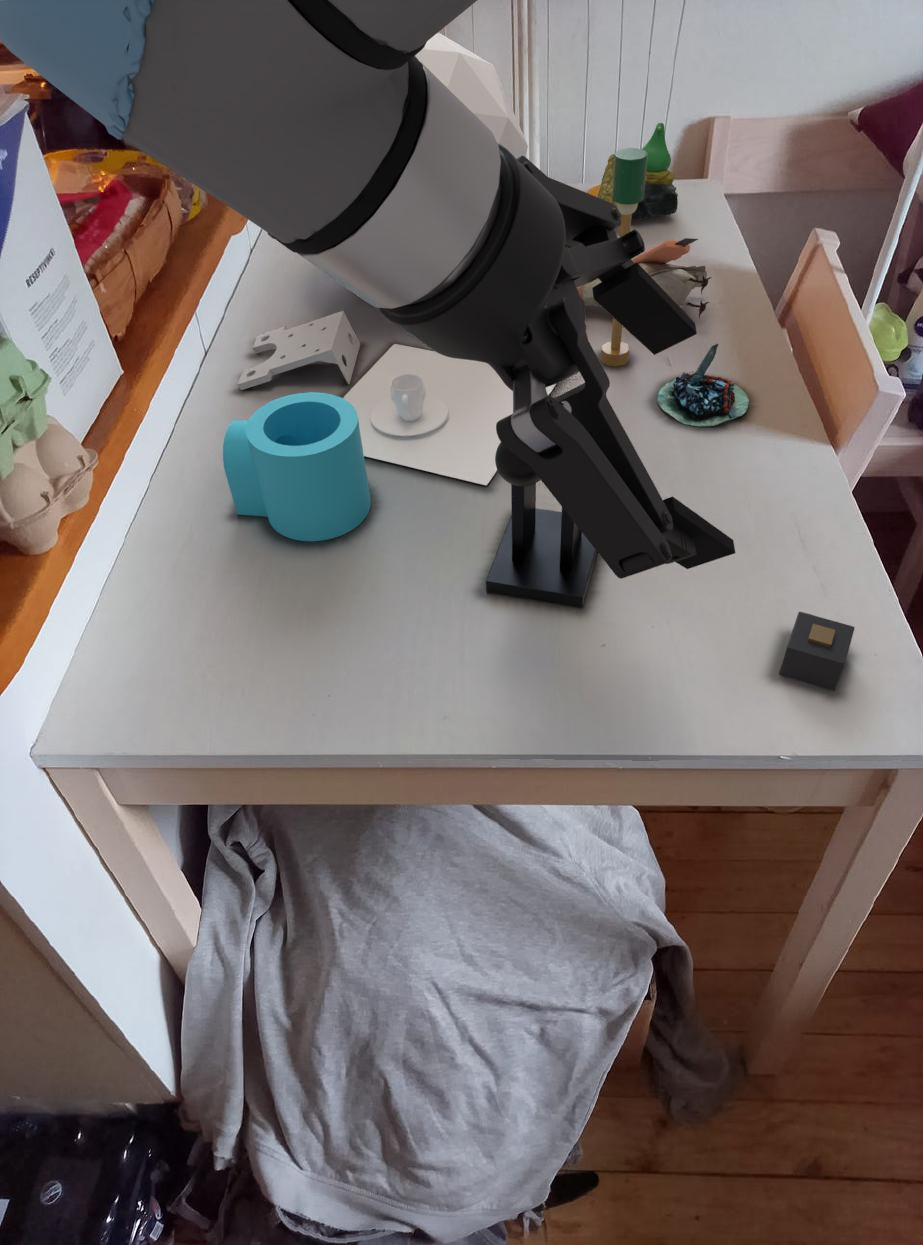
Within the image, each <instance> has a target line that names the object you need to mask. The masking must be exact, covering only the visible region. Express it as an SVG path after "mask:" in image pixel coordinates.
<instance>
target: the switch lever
mask: <svg viewBox="0 0 923 1245" xmlns="http://www.w3.org/2000/svg"><path fill="white" fill-rule="evenodd" d="M495 463H496V467H497V472H498V474H499V476H500V477H501V478H502V479H503V480H504V481H505V482H506V483H508V484H510V485H511V484H512V485H515V486H521V487H525V486H530V485H533V484H535V483H536V484H537V483H538V482H540V481H541V479H540V478H539V477H538V476H537V474H536V473H535V472H534V470H533V469H532V468H531V467H530V466H529V465H528V464H527V463H526V462H524V461H523V460H522V459H520V458H519V457H518V456H517V455H515V454H514V453H513V452H511V451H510V450H509V449H508V448H506V447H505V446H504V445H503V444H502V443H501V442H500V444H499V446H498V448H497V451H496V455H495Z"/></svg>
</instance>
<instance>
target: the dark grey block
mask: <svg viewBox="0 0 923 1245" xmlns="http://www.w3.org/2000/svg"><path fill="white" fill-rule="evenodd" d="M854 631H855V626H853V625H849V624H846V623H842V622H839V621H835V620H832V619H828V618H825V617H820V616H817V615H814V614H810V613H806V612H802V611H799V612H798V613H797V616H796V619H795V621H794V625H793V628H792V631H791V633H790V637H789V640H788V643H787V645H786V646H787V647H786V649H785V652H784V655H783V659H782V662H781V665H780V668H779V671H778V674H779V675H780V676H782V677H786V678H789V679H793V680H797V681H800V682H802V683H806V684H809V685H812V686H816V687H819V688H823V689H826V690H829V691H833V692H834V691H836V689H837V686H838V683H839V681H840V678H841V675H842V673H843V671H844V668H845V666H846V661H847V658H848V654H849V651H850V647H851V642H852V639H853V635H854Z"/></svg>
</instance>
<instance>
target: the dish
mask: <svg viewBox="0 0 923 1245" xmlns="http://www.w3.org/2000/svg"><path fill="white" fill-rule="evenodd" d="M718 347H719V343H715V344H713V345H711V346H710V348H709V349H708V351H707V353H706V354H705V356H704V358H703V360H702V361H701V362H700V364H699V365H698V367H697V369H696V370H695V372H692V373H691V371H689V372H685V371H684V372H682V374H681V377H679V376H676V377H675V378H674V379H672V380H670V381H669V382H667V383H666V384H664V386H662V387H661V388H660V389H659V391H658V394H657V403H658V406H659V407H660V408H661V409H662V410H663V411H664V412H665V413H667V414H668V415H669V416H671V417H672V418H674V419H675V420H676V421H678V422H679V423H681V424H684V425H687V426H693V427H694V426H695V427H712V426H713V427H714V426H718V425H721V424H724V423H726V422H728V421H732V420H734V419H737V418H738V417H742V416H743V415H744V414H746V412H747V410H748V408H749V404H750V399H749V398H748V396H747V394H746V392H745V391H744V390H743V389H741V388H740V387H739V385H737V384H735V381H731V380H728V379H726V378H723V377H722V376H715V375H709V374H706V372H707V370H708V369H709V367H710V366H711V364H712V362H713V361H714V359H715V356H716V354H717V349H718ZM690 373H691V374H690Z"/></svg>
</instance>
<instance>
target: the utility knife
mask: <svg viewBox="0 0 923 1245" xmlns="http://www.w3.org/2000/svg"><path fill="white" fill-rule="evenodd" d="M698 240H699V238H689V237H685V238H683V239H681V240H675V239H667V240H665V241H663V242H661V243H659V244H657V245H655V246H653V247H652V248H650V249H648V250H645V251H644V252H643V253H641V254H639V255H638V256H636V257H634V258H632V259H631V260H632V261H633V262H634V263H636V262H637V263H638V264H641V263H665V264H669V263H670V262H672V261H676V260H679V259H681V258H682V256H684V255H686V254H688V253H690V250H691V245H690V244H692V243H694V242H696V241H698Z"/></svg>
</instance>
